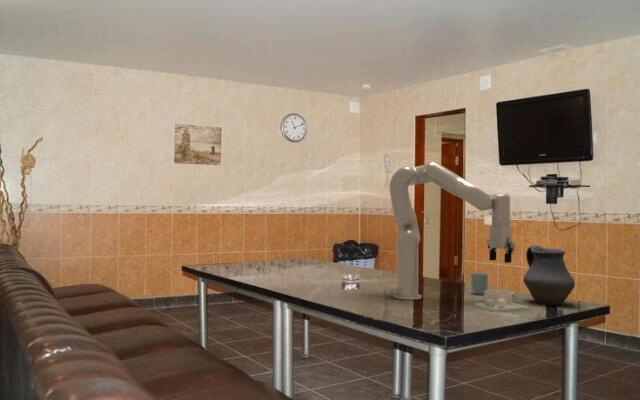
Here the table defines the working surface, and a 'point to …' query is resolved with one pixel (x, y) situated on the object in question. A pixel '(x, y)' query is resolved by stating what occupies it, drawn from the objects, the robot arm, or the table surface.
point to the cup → (479, 282)
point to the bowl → (499, 295)
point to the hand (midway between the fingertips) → (500, 261)
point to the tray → (508, 307)
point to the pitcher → (547, 276)
